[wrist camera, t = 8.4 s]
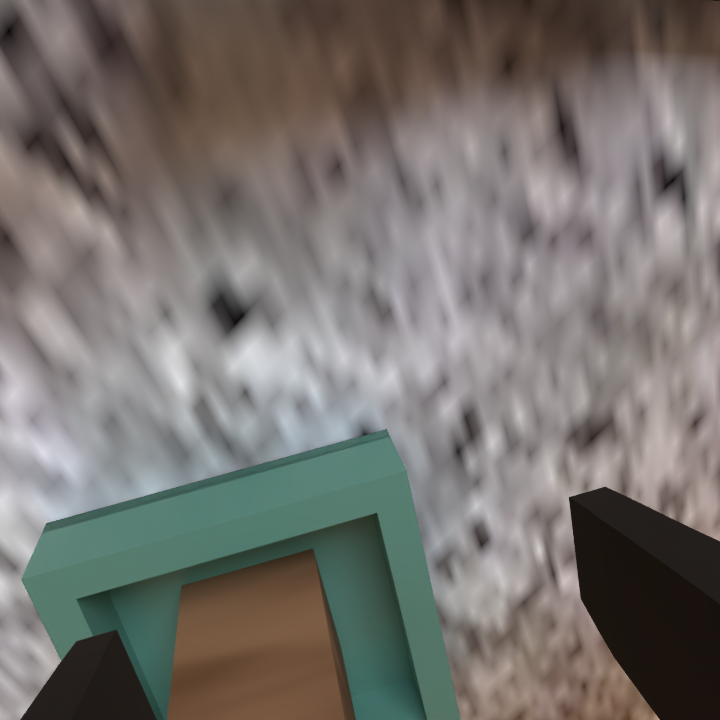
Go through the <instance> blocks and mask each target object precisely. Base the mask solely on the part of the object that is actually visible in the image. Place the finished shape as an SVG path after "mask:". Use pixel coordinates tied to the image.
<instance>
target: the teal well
mask: <svg viewBox="0 0 720 720" xmlns="http://www.w3.org/2000/svg"><path fill="white" fill-rule="evenodd" d="M309 549H313V550H314V553H315V557H316V560H317V564H318V567H319V571H320V574H321V578H322V581H323V585H324V588H325V592H326V596H327V599H328V603H329V606H330V610H331V613H332V617H333V620H334V624H335V627H336V631H337V634H338V638H339V642H340V645H341V649H342V654H343V658H344V663H345V668H346V673H347V678H348V683H349V688H350V693H351V698H352V703H353V708H354V713H355V718H356V720H460V715H459V710H458V706H457V701H456V697H455V692H454V687H453V683H452V678H451V674H450V669H449V665H448V660H447V655H446V651H445V646H444V642H443V637H442V632H441V628H440V623H439V619H438V614H437V609H436V605H435V600H434V596H433V591H432V586H431V582H430V577H429V573H428V568H427V563H426V559H425V554H424V550H423V545H422V540H421V536H420V531H419V527H418V522H417V517H416V513H415V508H414V504H413V499H412V494H411V490H410V485H409V481H408V476H407V471H406V469H405V467H404V465H403V463H402V461H401V459H400V456H399V454H398V452H397V450H396V448H395V446H394V444H393V442H392V440H391V438H390V436H389V434H388V432H387V429H386V430H383V431H379V432H375V433H372V434H368V435H365V436H361V437H357V438H354V439H350V440H346V441H343V442H339V443H336V444H332V445H328V446H325V447H321V448H317V449H314V450H310V451H307V452H303V453H299V454H296V455H292V456H289V457H285V458H281V459H278V460H274V461H270V462H267V463H263V464H260V465H256V466H252V467H249V468H245V469H242V470H238V471H234V472H231V473H227V474H223V475H220V476H216V477H213V478H209V479H205V480H202V481H198V482H194V483H191V484H187V485H184V486H180V487H176V488H173V489H169V490H166V491H162V492H158V493H155V494H151V495H147V496H144V497H140V498H137V499H133V500H129V501H126V502H122V503H119V504H115V505H111V506H108V507H104V508H100V509H97V510H93V511H90V512H86V513H82V514H79V515H75V516H71V517H68V518H64V519H61V520H57V521H53V522H50V523H46V526H45V528H44V530H43V532H42V534H41V537H40V539H39V541H38V543H37V546H36V548H35V550H34V552H33V554H32V557H31V559H30V561H29V563H28V566H27V568H26V570H25V572H24V574H23V577H22V579H21V580H22V582H23V584H24V586H25V588H26V590H27V592H28V594H29V596H30V598H31V600H32V602H33V604H34V606H35V608H36V610H37V612H38V614H39V616H40V618H41V620H42V622H43V624H44V626H45V628H46V630H47V632H48V634H49V636H50V638H51V640H52V642H53V644H54V646H55V649H56V651H57V653H58V655H59V657H60V659H61V661H62V660H63V658H64V657H65V656H66V654H67V653H68V651H69V650H70V649H71V648H72V646H73V645H74V644H75V642H76V641H79V640H82V639H86V638H89V637H93V636H96V635H100V634H103V633H106V632H110V631H113V630H117V631H118V634H119V636H120V638H121V640H122V643H123V645H124V647H125V649H126V652H127V654H128V656H129V658H130V661H131V663H132V665H133V667H134V670H135V672H136V674H137V676H138V679H139V681H140V683H141V685H142V688H143V690H144V692H145V694H146V697H147V699H148V701H149V703H150V706H151V708H152V710H153V712H154V715H155V717H156V719H157V720H167V716H168V707H169V698H170V689H171V679H172V670H173V661H174V651H175V642H176V633H177V623H178V614H179V605H180V595H181V586H182V585H186V584H189V583H193V582H196V581H200V580H203V579H207V578H210V577H214V576H217V575H221V574H224V573H228V572H231V571H235V570H238V569H242V568H246V567H249V566H253V565H256V564H260V563H263V562H267V561H270V560H274V559H277V558H281V557H284V556H288V555H291V554H295V553H298V552H302V551H306V550H309Z"/></svg>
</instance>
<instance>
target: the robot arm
mask: <svg viewBox="0 0 720 720" xmlns="http://www.w3.org/2000/svg"><path fill="white" fill-rule="evenodd" d="M569 502H570V510H571V519H572V527H573V536H574V544H575V553H576V561H577V570H578V579H579V587H580V596H581V600H582V602H583V604H584V605H585V607H586V609H587V611H588V613H589V614H590V616H591V618H592V620H593V622H594V623H595V625H596V627H597V629H598V631H599V632H600V634H601V636H602V637H603V639H604V641H605V643H606V644H607V646H608V648H609V649H610V651H611V653H612V654H613V656H614V658H615V659H616V660H617V662H618V663H619V664H620V666H621V667H622V669H623V670H624V671H625V673H626V674H627V676H628V677H629V678H630V680H631V681H632V682H633V684H634V685H635V686H636V688H637V689H638V691H639V692H640V693H641V695H642V696H643V697H644V699H645V700H646V701H647V703H648V704H649V706H650V707H651V708H652V710H653V711H654V712H655V714H656V715H657V716H658V718H659V719H660V720H720V541H718V540H716V539H713V538H711V537H709V536H707V535H705V534H703V533H700V532H698V531H696V530H694V529H692V528H690V527H688V526H686V525H684V524H682V523H680V522H677V521H675V520H673V519H671V518H669V517H667V516H665V515H663V514H661V513H659V512H657V511H655V510H653V509H651V508H649V507H647V506H645V505H643V504H641V503H639V502H636V501H634V500H632V499H630V498H628V497H626V496H624V495H622V494H620V493H618V492H616V491H613V490H611V489H609V488H607V487H603V488H599V489H596V490H593V491H589V492H586V493H582V494H579V495H575V496H572V497H569ZM21 720H157V719H156V717H155V715H154V712H153V710H152V708H151V706H150V703H149V701H148V699H147V697H146V694H145V692H144V690H143V688H142V685H141V683H140V681H139V679H138V676H137V674H136V672H135V670H134V667H133V665H132V663H131V661H130V658H129V656H128V654H127V652H126V649H125V647H124V645H123V643H122V640H121V638H120V636H119V634H118V631H117V630H113V631H110V632H106V633H103V634H100V635H96V636H93V637H89V638H86V639H82V640H79V641H76V642H75V644H74V645H73V646H72V648H71V649H70V650H69V651H68V653H67V654H66V656H65V657H64V658H63V660H62V661H61V663H60V664H59V665H58V667H57V668H56V670H55V671H54V672H53V674H52V675H51V677H50V678H49V680H48V681H47V682H46V684H45V685H44V687H43V688H42V690H41V691H40V693H39V694H38V695H37V697H36V698H35V700H34V701H33V703H32V704H31V705H30V707H29V708H28V710H27V711H26V713H25V714H24V715H23V717H22V718H21Z"/></svg>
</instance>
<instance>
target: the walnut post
mask: <svg viewBox="0 0 720 720" xmlns="http://www.w3.org/2000/svg"><path fill="white" fill-rule="evenodd" d="M167 720H356V718H355V713H354V708H353V703H352V698H351V693H350V688H349V683H348V678H347V673H346V668H345V663H344V658H343V654H342V649H341V645H340V642H339V638H338V634H337V631H336V627H335V624H334V620H333V617H332V613H331V610H330V606H329V603H328V599H327V596H326V592H325V588H324V585H323V581H322V578H321V574H320V571H319V567H318V564H317V560H316V557H315V553H314V550H313V549H309V550H306V551H302V552H298V553H295V554H291V555H288V556H284V557H281V558H277V559H274V560H270V561H267V562H263V563H260V564H256V565H253V566H249V567H246V568H242V569H238V570H235V571H231V572H228V573H224V574H221V575H217V576H214V577H210V578H207V579H203V580H200V581H196V582H193V583H189V584H186V585H182V586H181V595H180V605H179V614H178V623H177V633H176V642H175V651H174V661H173V670H172V679H171V689H170V698H169V707H168V716H167Z"/></svg>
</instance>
